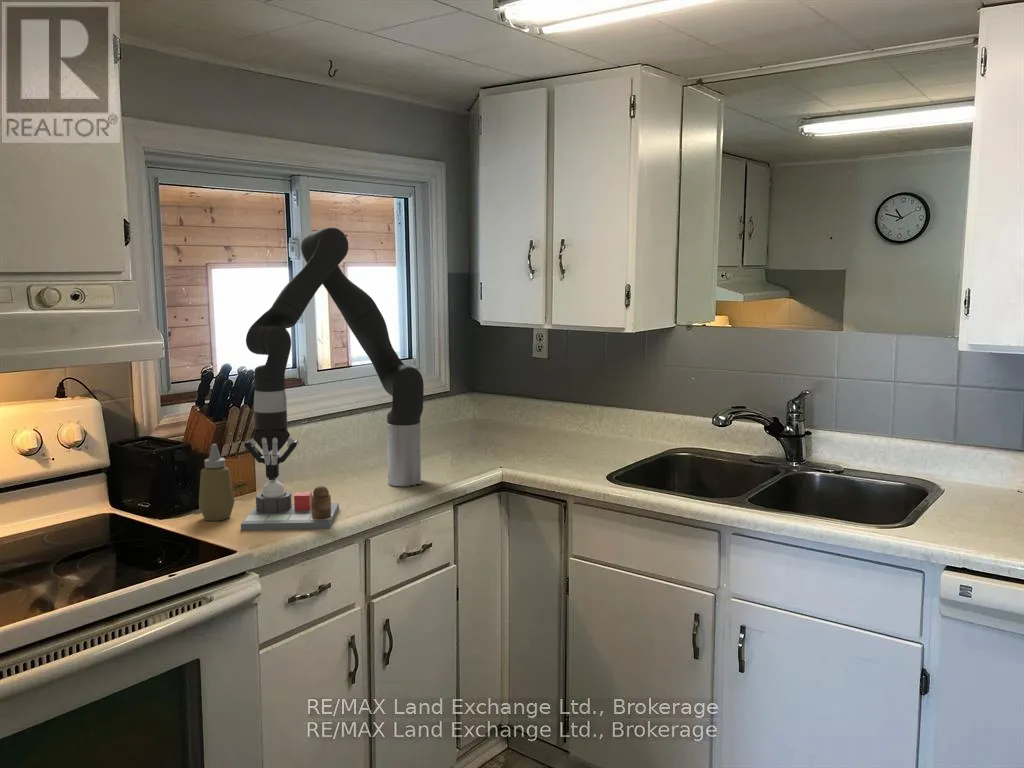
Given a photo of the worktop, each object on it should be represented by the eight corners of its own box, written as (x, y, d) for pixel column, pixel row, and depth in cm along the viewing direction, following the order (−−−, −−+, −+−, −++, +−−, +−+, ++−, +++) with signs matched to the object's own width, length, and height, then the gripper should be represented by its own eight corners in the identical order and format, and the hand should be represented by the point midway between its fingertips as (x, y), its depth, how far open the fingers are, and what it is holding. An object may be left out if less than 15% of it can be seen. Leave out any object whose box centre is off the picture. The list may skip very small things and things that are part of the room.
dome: (286, 497, 200) (285, 477, 199) (282, 503, 195) (281, 483, 194) (265, 498, 199) (264, 478, 198) (261, 503, 194) (260, 483, 194)
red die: (312, 506, 200) (311, 491, 199) (309, 510, 196) (309, 495, 196) (297, 506, 199) (296, 491, 199) (294, 510, 196) (294, 495, 195)
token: (332, 513, 193) (331, 483, 192) (329, 519, 189) (328, 488, 188) (313, 514, 193) (312, 483, 192) (310, 519, 188) (309, 488, 187)
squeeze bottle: (204, 525, 189) (201, 449, 186) (195, 516, 195) (191, 443, 193) (239, 519, 193) (236, 445, 191) (229, 511, 200) (226, 439, 198)
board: (338, 508, 202) (338, 489, 202) (329, 528, 187) (329, 507, 186) (257, 510, 201) (256, 490, 200) (241, 530, 185) (240, 509, 184)
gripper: (301, 406, 198) (303, 475, 200) (246, 406, 197) (248, 476, 199) (295, 411, 191) (297, 483, 193) (238, 411, 190) (240, 483, 192)
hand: (272, 479), depth 196 cm, fingers closed
